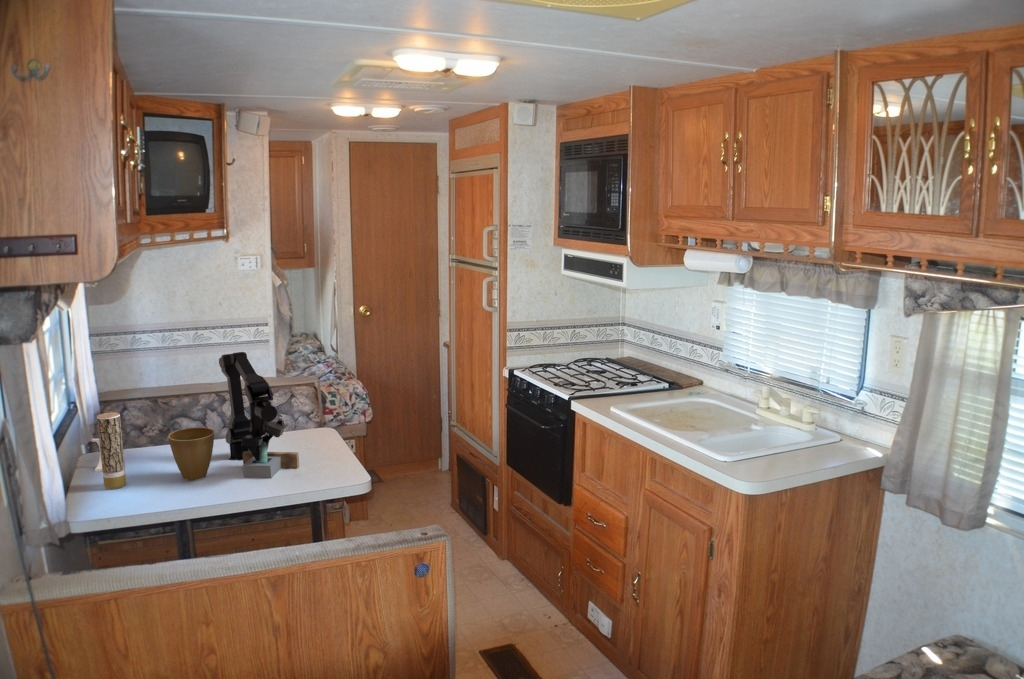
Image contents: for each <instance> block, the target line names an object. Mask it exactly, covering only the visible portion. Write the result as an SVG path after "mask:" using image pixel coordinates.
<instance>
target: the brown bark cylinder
mask: <svg viewBox="0 0 1024 679" xmlns="http://www.w3.org/2000/svg"><path fill="white" fill-rule="evenodd" d="M120 414H121V413H120V412H115V411H114V412H105V413H100V414H98V415H96V419H97V420H96V421H97V431H98V432H97V433H98V439H99V441H100V449H99V452H100V451H101V461H102V471H101V472H102V478H103V486H104V488H105V489H107V490H116V489H120V488H123V487H125V486H126V484H127V476H126V464H125V453H124V444H123V443H124V442H123V433H122V424H121V423H122V422H121V415H120Z"/></svg>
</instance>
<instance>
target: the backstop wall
mask: <svg viewBox="0 0 1024 679" xmlns="http://www.w3.org/2000/svg"><path fill="white" fill-rule="evenodd" d="M242 454H243V460H242V465H243V464H245V463H246V462H247V461H248V460H249V459H251V458H252V457H253V454H252V453H251V452H247V451H245V452H243V453H242ZM267 456H279V457H281V469H293V470H297V469H299V468H300V454H299V452H298V451H297V452H296V451H295V452H293V451H290V452H289V451H267Z"/></svg>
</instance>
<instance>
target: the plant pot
mask: <svg viewBox="0 0 1024 679" xmlns="http://www.w3.org/2000/svg"><path fill="white" fill-rule="evenodd" d="M167 436H168V442H169V446H170V449H171V452H172V456H173V458H174V460H175V463H176V465H177V469H178V470H179V472H180V474H181V476H182V478H183V480H185V481H189V482H190V481H200V480H202V479H204V478H206V477H207V474H208V471H209V468H210V465H211V459H212V457H213V456H212V455H213V450H214V441H215V429H213V428H209V427H203V426H202V427H201V426H200V427H199V426H198V427H196V426H195V427H187V428H181V429H178V430H175V431H172V432H171V433H169V435H167Z"/></svg>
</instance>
